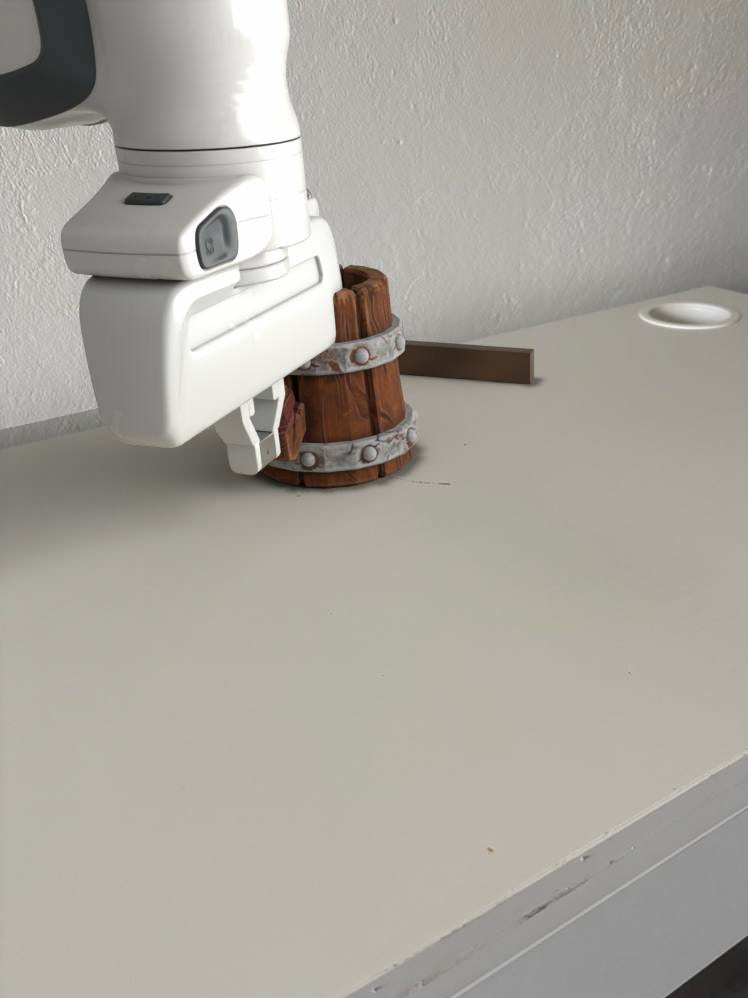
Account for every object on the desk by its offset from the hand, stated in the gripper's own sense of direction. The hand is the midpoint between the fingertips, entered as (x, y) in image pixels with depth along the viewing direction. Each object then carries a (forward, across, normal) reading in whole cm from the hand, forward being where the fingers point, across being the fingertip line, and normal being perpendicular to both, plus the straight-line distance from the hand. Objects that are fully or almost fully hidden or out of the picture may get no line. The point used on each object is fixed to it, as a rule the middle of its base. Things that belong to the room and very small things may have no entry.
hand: (256, 465), depth 58 cm
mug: (+4, -10, -1) cm, 11 cm away
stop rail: (+4, -30, +1) cm, 31 cm away
